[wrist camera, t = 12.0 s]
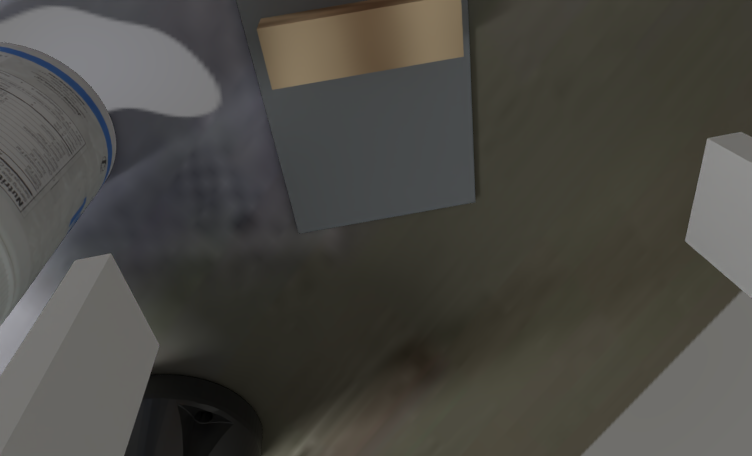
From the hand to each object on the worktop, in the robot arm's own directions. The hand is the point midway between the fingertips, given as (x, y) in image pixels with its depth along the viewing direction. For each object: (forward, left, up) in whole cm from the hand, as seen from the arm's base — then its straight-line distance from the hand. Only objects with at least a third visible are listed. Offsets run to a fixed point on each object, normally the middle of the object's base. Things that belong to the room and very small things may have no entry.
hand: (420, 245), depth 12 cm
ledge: (0, +1, -20) cm, 20 cm away
